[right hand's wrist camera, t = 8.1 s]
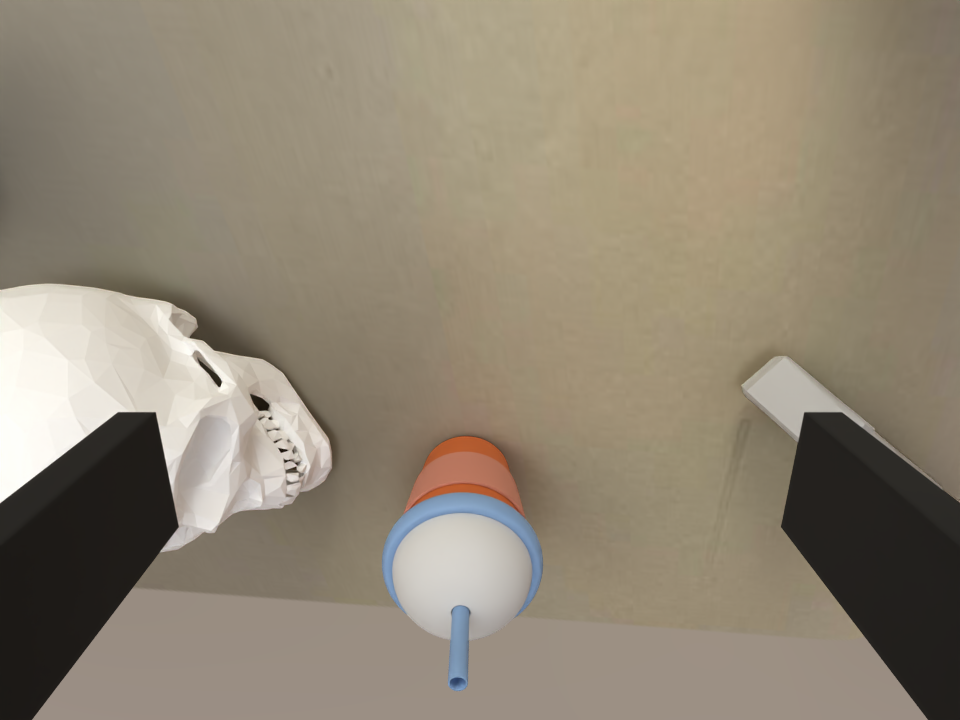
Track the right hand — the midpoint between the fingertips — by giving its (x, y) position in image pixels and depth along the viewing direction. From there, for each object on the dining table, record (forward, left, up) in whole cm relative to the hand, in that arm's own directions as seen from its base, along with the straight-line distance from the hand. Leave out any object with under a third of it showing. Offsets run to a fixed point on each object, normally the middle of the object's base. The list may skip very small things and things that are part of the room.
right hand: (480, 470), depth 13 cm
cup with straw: (+9, -14, -28) cm, 32 cm away
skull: (-10, -20, -28) cm, 35 cm away
